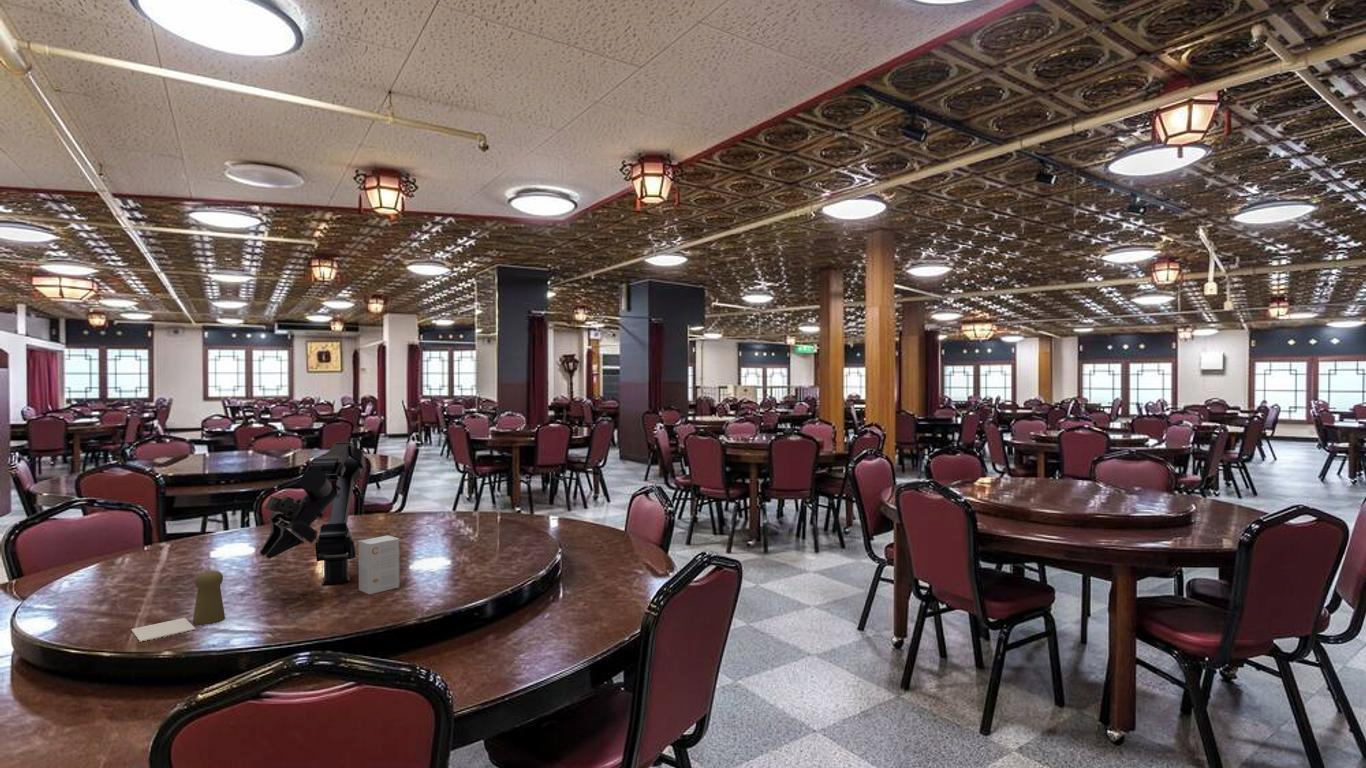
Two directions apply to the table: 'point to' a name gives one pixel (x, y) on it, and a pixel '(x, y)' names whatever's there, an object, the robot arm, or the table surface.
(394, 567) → the small box
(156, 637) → the mat
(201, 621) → the cork
